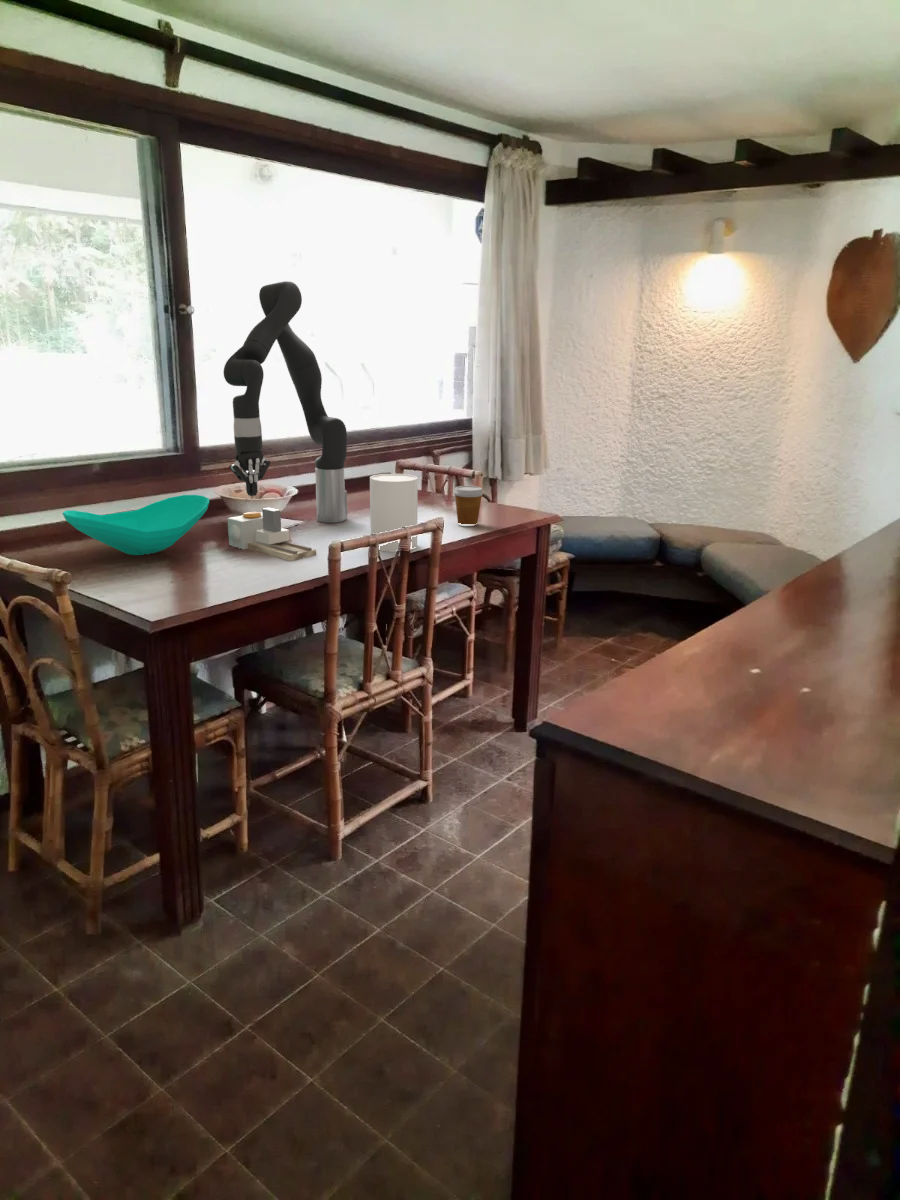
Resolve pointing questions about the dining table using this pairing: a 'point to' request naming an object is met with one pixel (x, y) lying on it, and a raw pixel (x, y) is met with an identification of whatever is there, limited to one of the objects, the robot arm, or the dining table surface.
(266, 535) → the carriage
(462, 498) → the disposable coffee cup
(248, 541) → the end cabinet
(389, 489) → the canister
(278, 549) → the rail track
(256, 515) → the button
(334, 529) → the dining table surface
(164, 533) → the table top decor
